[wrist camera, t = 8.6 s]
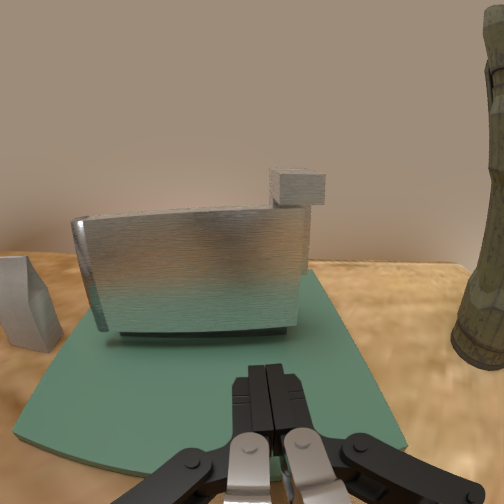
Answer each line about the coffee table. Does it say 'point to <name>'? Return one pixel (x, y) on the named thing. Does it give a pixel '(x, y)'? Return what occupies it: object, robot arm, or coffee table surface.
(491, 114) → the thermos
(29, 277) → the tea bag
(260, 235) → the silver metal plate
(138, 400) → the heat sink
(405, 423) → the coffee table surface
